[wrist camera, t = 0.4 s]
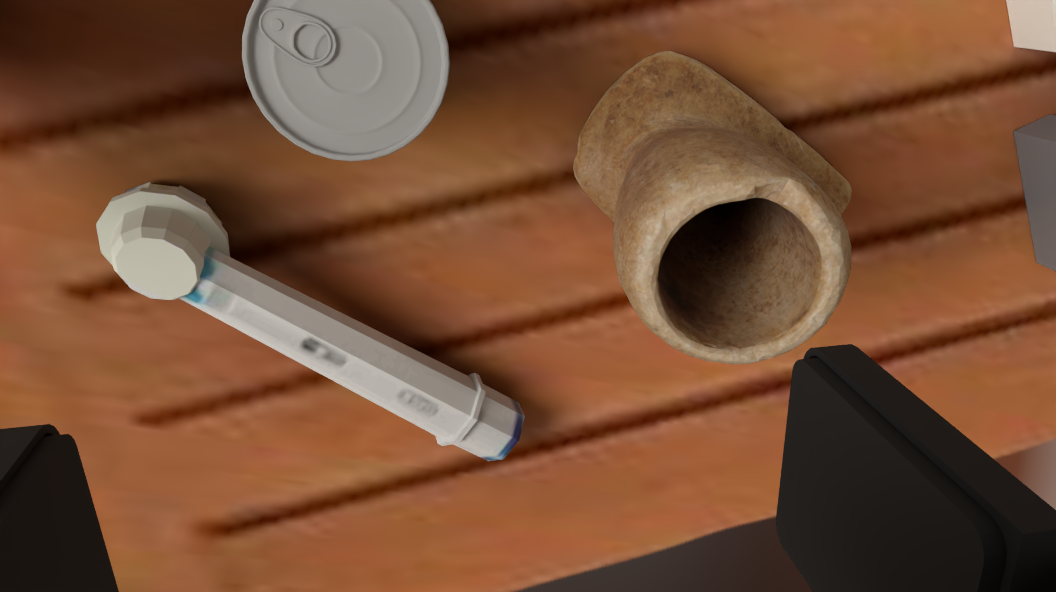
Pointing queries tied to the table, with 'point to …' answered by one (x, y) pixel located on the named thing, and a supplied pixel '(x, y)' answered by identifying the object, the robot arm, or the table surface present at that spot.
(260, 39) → the canned tomato
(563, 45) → the table surface
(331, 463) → the table surface
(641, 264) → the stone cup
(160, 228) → the white handheld tool
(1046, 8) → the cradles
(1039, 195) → the socket block
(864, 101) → the table surface
